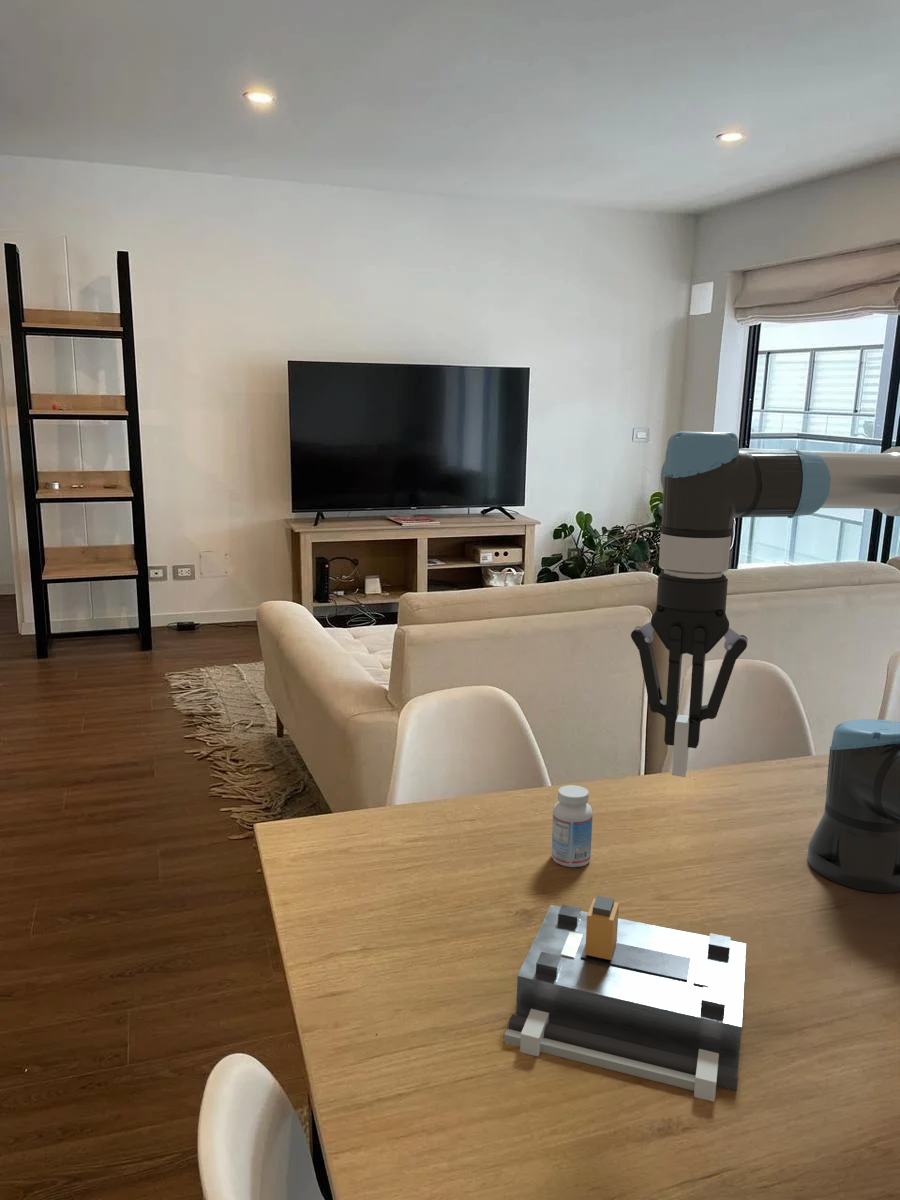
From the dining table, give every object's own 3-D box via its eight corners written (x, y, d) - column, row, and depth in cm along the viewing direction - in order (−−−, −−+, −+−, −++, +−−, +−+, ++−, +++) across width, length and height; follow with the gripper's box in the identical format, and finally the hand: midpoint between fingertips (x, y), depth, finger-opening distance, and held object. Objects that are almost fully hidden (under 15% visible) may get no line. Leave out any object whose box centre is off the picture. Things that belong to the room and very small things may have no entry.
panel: (742, 980, 107) (746, 934, 106) (738, 1069, 92) (742, 1016, 91) (549, 939, 115) (551, 896, 114) (516, 1015, 100) (517, 966, 99)
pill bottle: (589, 851, 139) (592, 784, 137) (591, 870, 133) (595, 800, 131) (550, 848, 140) (553, 781, 138) (551, 867, 134) (553, 798, 132)
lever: (616, 941, 105) (619, 896, 104) (611, 960, 101) (613, 914, 100) (591, 936, 106) (593, 892, 105) (585, 954, 102) (587, 909, 101)
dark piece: (743, 962, 111) (745, 946, 110) (735, 1107, 87) (737, 1087, 87) (556, 924, 118) (556, 909, 118) (502, 1047, 95) (502, 1029, 94)
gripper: (755, 571, 100) (739, 768, 104) (638, 563, 104) (628, 753, 108) (754, 581, 93) (737, 792, 97) (629, 573, 97) (618, 775, 102)
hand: (679, 771), depth 103 cm, fingers closed
